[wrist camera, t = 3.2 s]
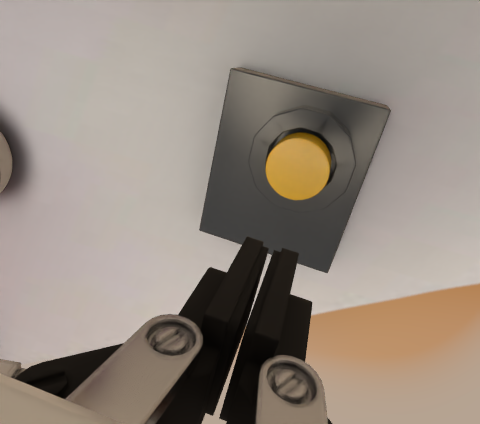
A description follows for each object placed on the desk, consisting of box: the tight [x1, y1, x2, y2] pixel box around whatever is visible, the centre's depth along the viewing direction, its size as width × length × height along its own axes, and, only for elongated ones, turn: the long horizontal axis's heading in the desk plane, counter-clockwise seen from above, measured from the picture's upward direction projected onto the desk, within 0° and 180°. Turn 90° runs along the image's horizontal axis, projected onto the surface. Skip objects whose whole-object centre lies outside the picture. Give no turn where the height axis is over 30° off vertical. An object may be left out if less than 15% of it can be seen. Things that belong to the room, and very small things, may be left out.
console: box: [199, 68, 391, 273], centre depth 28 cm, size 13×11×4 cm
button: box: [266, 132, 331, 200], centre depth 24 cm, size 4×4×2 cm
